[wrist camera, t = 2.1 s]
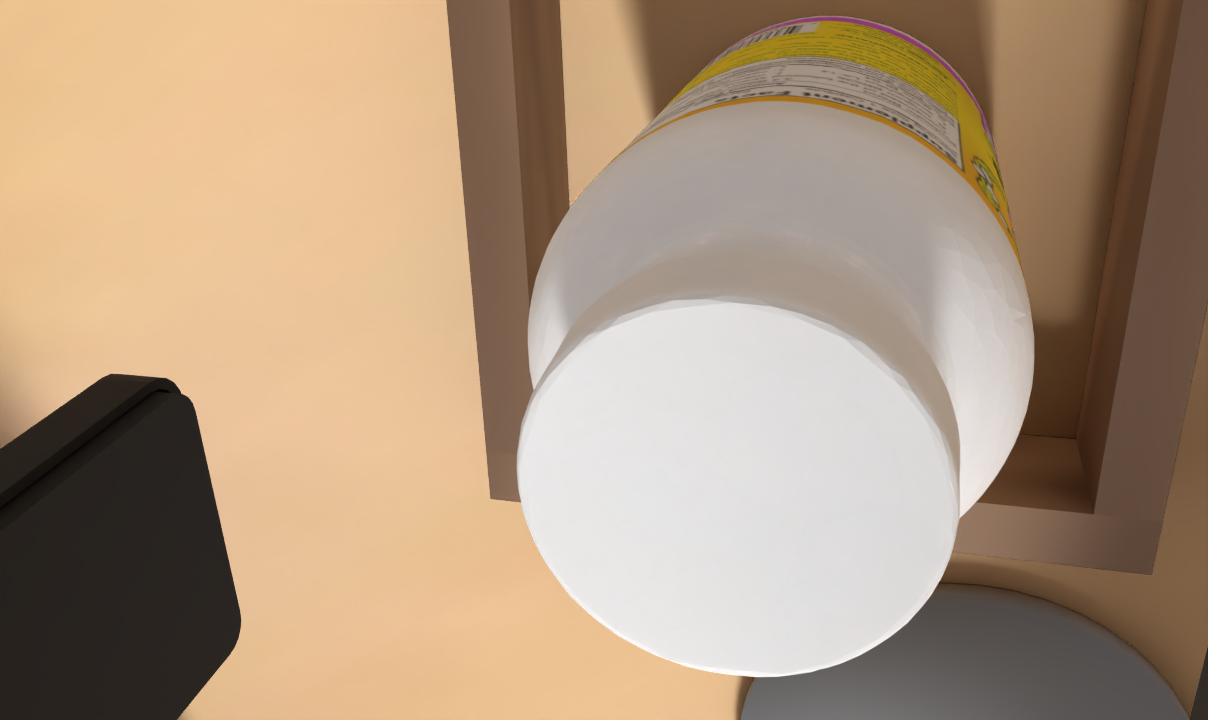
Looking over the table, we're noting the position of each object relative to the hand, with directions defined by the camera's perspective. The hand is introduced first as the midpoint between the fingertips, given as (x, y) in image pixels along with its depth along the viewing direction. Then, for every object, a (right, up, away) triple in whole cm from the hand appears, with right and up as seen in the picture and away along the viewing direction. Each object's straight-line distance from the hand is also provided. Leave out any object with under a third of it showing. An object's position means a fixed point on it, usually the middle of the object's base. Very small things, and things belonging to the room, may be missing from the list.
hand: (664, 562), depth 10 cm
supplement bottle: (+4, +6, +13) cm, 15 cm away
